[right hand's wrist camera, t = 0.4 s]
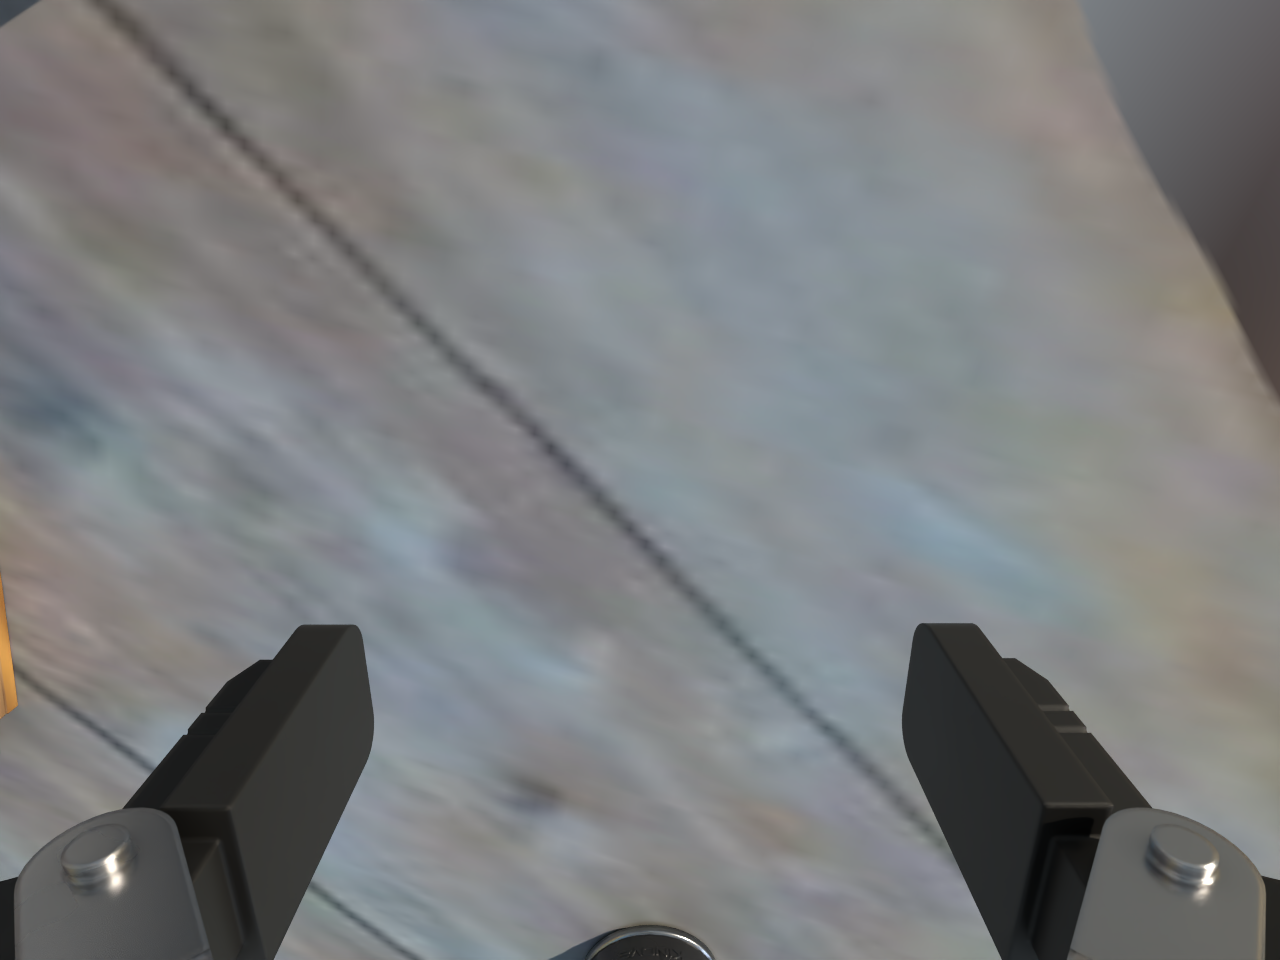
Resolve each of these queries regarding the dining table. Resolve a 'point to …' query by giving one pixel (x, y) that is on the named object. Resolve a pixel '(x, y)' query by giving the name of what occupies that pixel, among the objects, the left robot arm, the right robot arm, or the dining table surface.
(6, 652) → the open wooden box
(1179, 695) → the dining table surface
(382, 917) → the dining table surface
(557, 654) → the dining table surface
